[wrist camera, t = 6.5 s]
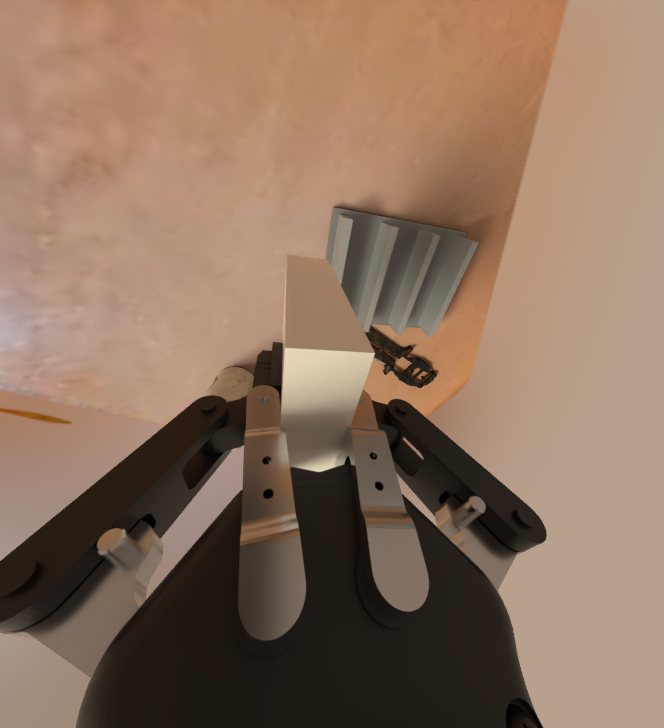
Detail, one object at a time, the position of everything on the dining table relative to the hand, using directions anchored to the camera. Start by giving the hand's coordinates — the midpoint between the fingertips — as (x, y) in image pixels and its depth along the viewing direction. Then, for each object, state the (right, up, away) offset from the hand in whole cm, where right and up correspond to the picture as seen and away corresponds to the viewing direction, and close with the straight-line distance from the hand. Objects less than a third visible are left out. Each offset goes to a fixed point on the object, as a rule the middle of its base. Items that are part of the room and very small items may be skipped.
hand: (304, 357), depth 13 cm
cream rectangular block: (-1, +3, +3) cm, 4 cm away
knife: (+10, +2, +26) cm, 28 cm away
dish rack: (+9, +11, +17) cm, 22 cm away
